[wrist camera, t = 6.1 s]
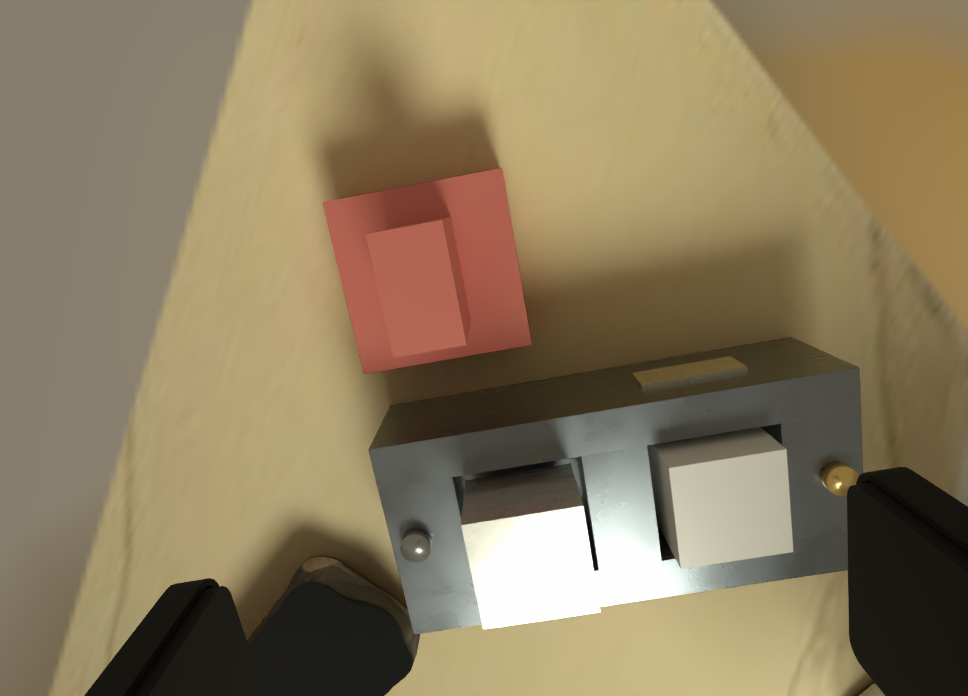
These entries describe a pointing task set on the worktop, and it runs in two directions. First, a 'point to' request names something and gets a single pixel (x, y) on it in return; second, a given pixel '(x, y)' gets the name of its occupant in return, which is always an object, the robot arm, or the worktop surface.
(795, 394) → the panel
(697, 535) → the button
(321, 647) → the black sponge
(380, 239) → the cap
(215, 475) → the worktop surface
